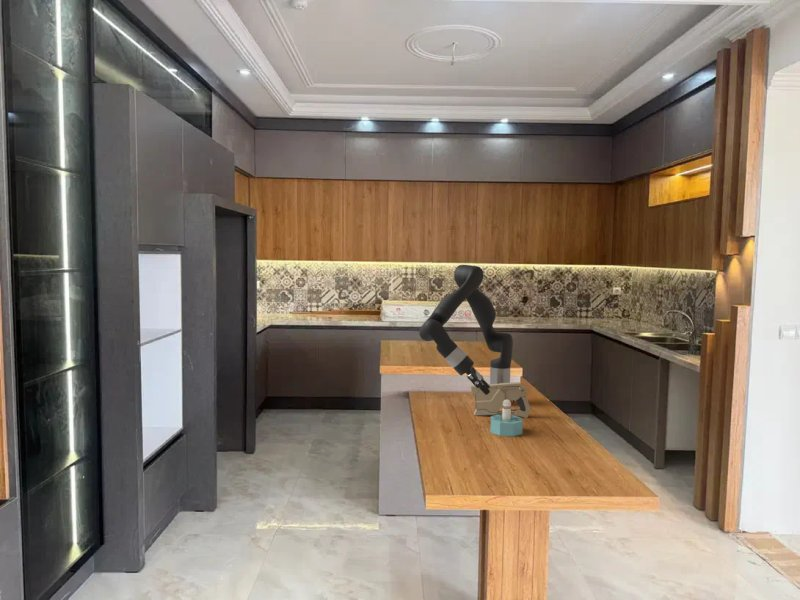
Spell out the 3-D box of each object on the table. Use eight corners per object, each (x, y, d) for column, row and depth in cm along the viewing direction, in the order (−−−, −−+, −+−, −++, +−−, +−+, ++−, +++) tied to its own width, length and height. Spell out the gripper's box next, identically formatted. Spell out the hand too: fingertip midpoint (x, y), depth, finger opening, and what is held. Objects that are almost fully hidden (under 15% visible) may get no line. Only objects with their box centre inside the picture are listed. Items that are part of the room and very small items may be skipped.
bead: (490, 426, 229) (490, 413, 228) (521, 427, 227) (521, 415, 226) (490, 435, 217) (490, 422, 216) (522, 437, 215) (523, 424, 214)
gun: (530, 415, 244) (528, 381, 243) (531, 418, 241) (529, 383, 240) (473, 418, 247) (470, 384, 246) (473, 420, 243) (471, 386, 242)
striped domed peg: (501, 429, 224) (502, 398, 223) (510, 430, 223) (511, 398, 222) (501, 432, 220) (502, 400, 220) (510, 432, 220) (511, 400, 219)
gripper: (465, 357, 215) (495, 388, 214) (466, 351, 229) (495, 380, 228) (451, 370, 216) (481, 401, 215) (453, 363, 230) (481, 393, 229)
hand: (488, 390), depth 222 cm, fingers open, 8 cm apart
